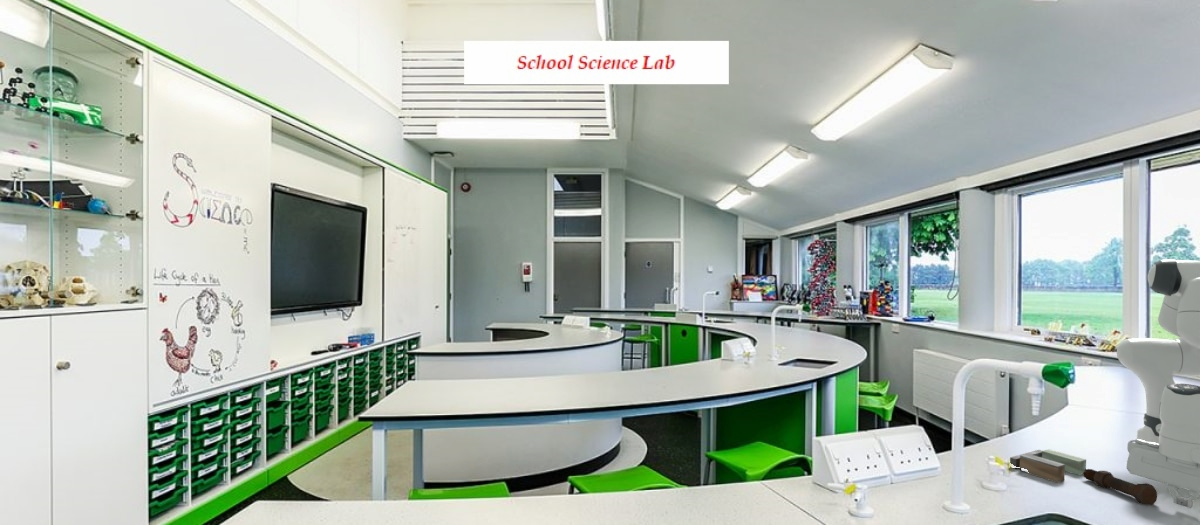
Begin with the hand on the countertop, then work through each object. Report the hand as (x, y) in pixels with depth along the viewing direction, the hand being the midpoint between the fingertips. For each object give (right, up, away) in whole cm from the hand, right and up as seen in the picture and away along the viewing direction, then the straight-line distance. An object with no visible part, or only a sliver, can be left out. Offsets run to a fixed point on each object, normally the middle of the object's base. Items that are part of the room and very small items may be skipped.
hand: (1183, 505), depth 128 cm
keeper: (-12, -1, +25) cm, 28 cm away
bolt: (-6, -2, +11) cm, 12 cm away
